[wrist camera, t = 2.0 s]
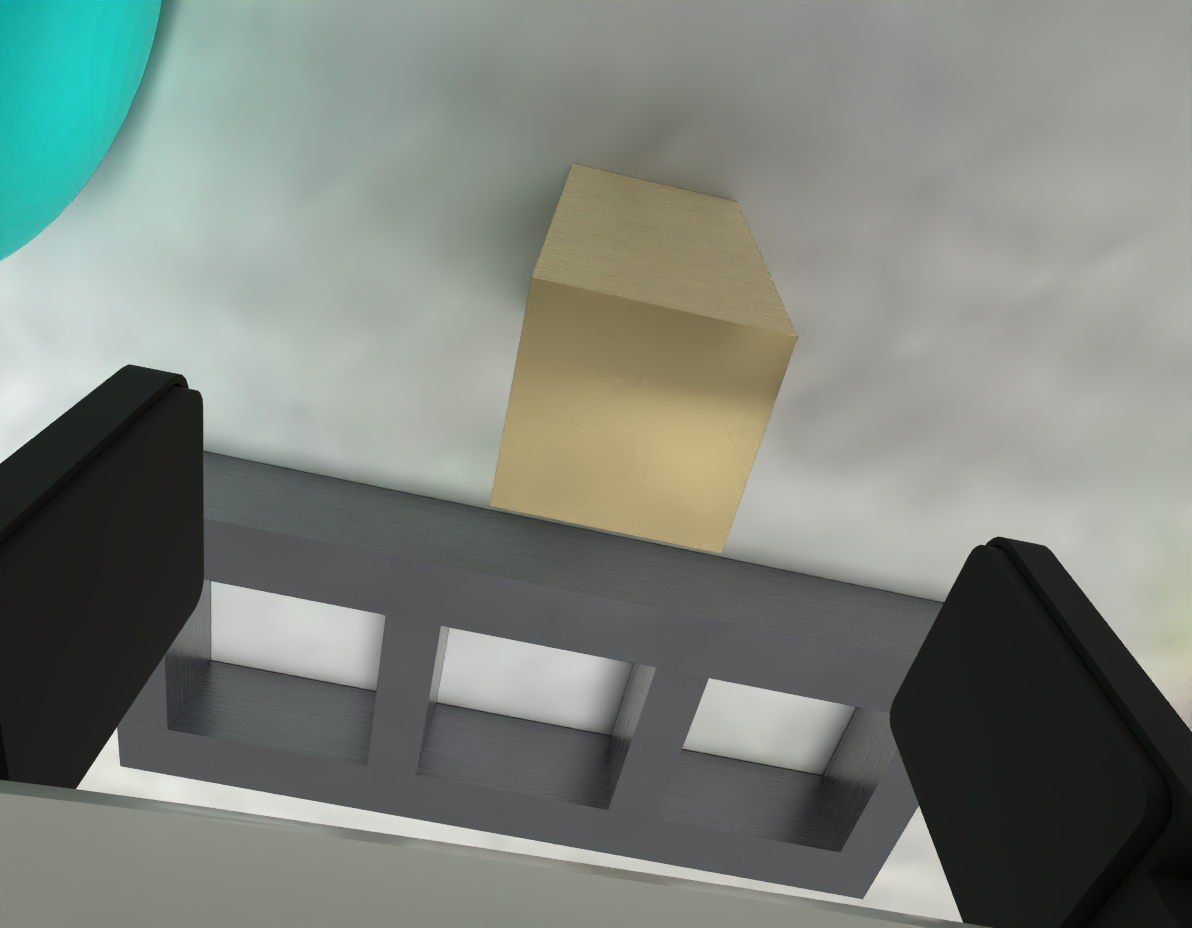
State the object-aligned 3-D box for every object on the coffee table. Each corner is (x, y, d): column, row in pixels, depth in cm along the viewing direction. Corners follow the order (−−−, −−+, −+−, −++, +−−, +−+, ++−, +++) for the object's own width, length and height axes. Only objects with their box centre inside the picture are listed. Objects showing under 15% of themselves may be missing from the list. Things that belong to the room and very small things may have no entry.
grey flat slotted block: (959, 606, 26) (996, 676, 23) (843, 821, 31) (863, 899, 28) (156, 442, 24) (98, 497, 22) (166, 696, 29) (120, 766, 27)
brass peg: (736, 201, 21) (797, 336, 13) (692, 354, 23) (720, 553, 15) (572, 163, 20) (531, 277, 12) (541, 321, 22) (489, 505, 14)
